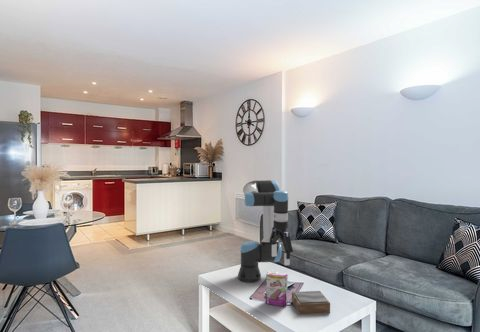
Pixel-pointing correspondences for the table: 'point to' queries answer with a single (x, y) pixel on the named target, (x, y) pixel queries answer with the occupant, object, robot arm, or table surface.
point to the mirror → (310, 302)
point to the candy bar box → (276, 288)
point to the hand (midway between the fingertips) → (280, 260)
